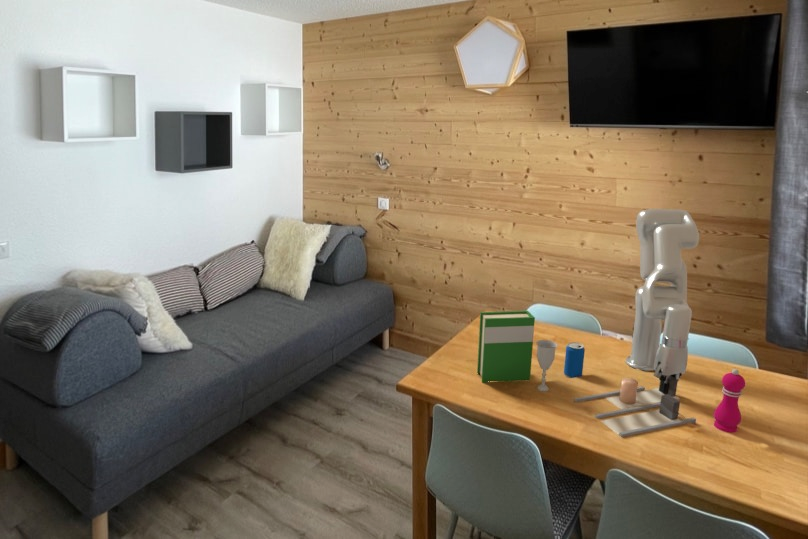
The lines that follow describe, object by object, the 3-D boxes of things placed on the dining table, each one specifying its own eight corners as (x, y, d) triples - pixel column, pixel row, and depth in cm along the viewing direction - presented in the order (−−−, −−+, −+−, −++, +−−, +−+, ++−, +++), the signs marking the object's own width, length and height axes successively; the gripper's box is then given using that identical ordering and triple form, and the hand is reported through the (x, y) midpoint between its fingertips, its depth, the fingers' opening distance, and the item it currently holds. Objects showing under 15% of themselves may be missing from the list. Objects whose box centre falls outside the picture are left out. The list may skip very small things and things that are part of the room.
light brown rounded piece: (628, 396, 186) (630, 376, 184) (638, 402, 181) (641, 383, 180) (616, 398, 184) (618, 379, 183) (626, 405, 180) (628, 385, 178)
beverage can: (582, 380, 200) (586, 349, 197) (564, 378, 201) (567, 347, 198) (580, 372, 206) (584, 342, 203) (563, 371, 208) (565, 341, 205)
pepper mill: (713, 420, 174) (723, 362, 169) (739, 428, 170) (750, 368, 165) (710, 431, 168) (720, 370, 163) (737, 438, 164) (749, 376, 159)
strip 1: (661, 389, 192) (663, 371, 191) (679, 399, 185) (682, 381, 184) (604, 399, 185) (606, 381, 183) (620, 410, 178) (622, 392, 176)
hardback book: (482, 382, 198) (485, 319, 192) (477, 373, 205) (480, 312, 199) (529, 380, 200) (534, 317, 194) (523, 371, 207) (527, 310, 201)
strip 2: (662, 410, 178) (664, 391, 176) (681, 423, 171) (684, 403, 169) (600, 422, 170) (602, 403, 169) (617, 436, 163) (620, 416, 161)
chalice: (529, 387, 194) (533, 339, 190) (548, 387, 195) (552, 339, 190) (536, 397, 187) (540, 348, 182) (555, 397, 188) (560, 347, 183)
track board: (640, 391, 192) (641, 385, 192) (696, 426, 170) (697, 419, 170) (572, 403, 183) (573, 397, 183) (622, 442, 162) (623, 435, 161)
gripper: (684, 334, 189) (677, 383, 194) (646, 340, 184) (640, 390, 189) (702, 342, 182) (694, 393, 187) (663, 348, 177) (656, 400, 182)
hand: (667, 391), depth 188 cm, fingers closed on strip 1, 2 cm apart
